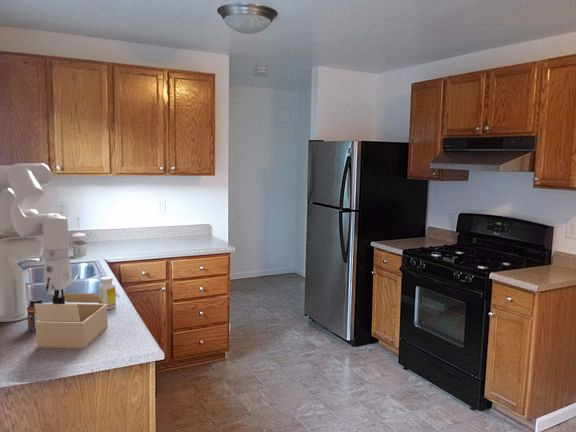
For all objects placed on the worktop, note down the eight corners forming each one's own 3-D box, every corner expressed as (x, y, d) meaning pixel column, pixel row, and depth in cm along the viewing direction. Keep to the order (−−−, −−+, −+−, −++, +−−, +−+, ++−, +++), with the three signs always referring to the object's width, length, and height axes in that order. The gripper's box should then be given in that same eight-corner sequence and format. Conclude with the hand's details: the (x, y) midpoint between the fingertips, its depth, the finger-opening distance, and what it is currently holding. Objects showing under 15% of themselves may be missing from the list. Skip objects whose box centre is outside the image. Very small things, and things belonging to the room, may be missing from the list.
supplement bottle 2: (118, 304, 203) (117, 276, 202) (113, 309, 197) (112, 280, 195) (102, 304, 203) (101, 275, 201) (96, 309, 196) (95, 279, 195)
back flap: (59, 293, 170) (60, 292, 170) (66, 302, 175) (66, 301, 175) (97, 294, 170) (98, 293, 170) (103, 302, 175) (103, 301, 175)
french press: (76, 259, 289) (74, 218, 286) (66, 256, 296) (65, 217, 293) (91, 256, 297) (89, 217, 294) (81, 254, 304) (80, 215, 301)
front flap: (38, 319, 156) (38, 320, 156) (34, 303, 153) (33, 304, 153) (80, 320, 156) (79, 321, 156) (76, 304, 153) (76, 305, 153)
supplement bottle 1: (25, 329, 174) (23, 299, 172) (41, 324, 178) (40, 295, 177) (32, 333, 170) (31, 302, 169) (49, 328, 175) (47, 299, 173)
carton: (36, 347, 157) (35, 322, 156) (65, 326, 177) (64, 303, 176) (84, 348, 157) (83, 322, 156) (107, 327, 177) (106, 304, 176)
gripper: (56, 259, 146) (59, 316, 148) (78, 249, 160) (80, 301, 163) (32, 258, 146) (35, 316, 148) (56, 249, 160) (58, 301, 163)
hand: (59, 308), depth 155 cm, fingers closed
